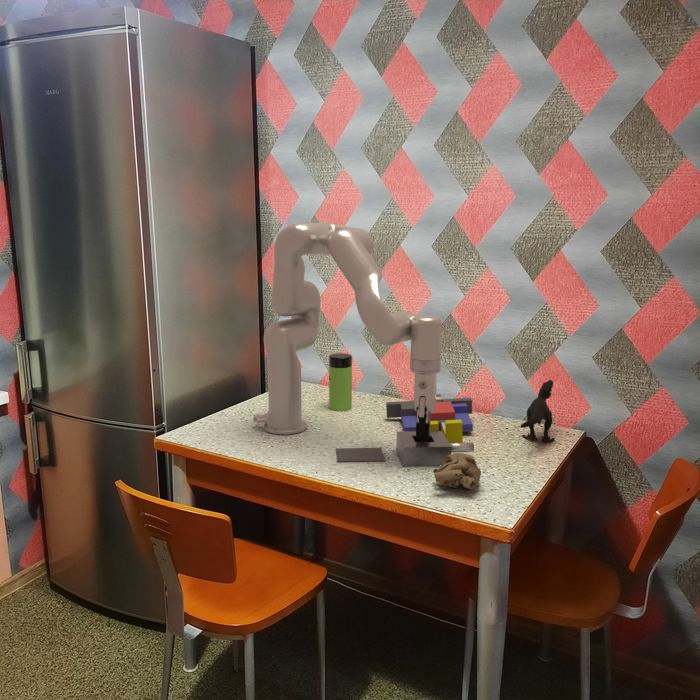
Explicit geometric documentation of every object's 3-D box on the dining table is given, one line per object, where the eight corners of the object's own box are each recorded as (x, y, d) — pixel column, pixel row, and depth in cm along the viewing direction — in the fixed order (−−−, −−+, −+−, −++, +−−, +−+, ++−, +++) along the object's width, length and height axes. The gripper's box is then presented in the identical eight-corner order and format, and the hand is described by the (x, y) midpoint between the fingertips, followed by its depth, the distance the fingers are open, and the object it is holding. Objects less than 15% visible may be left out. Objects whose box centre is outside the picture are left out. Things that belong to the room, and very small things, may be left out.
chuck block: (402, 466, 158) (403, 447, 157) (396, 449, 170) (396, 431, 169) (478, 465, 159) (479, 446, 158) (466, 448, 171) (467, 430, 170)
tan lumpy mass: (449, 437, 154) (424, 464, 141) (493, 449, 149) (471, 478, 136) (447, 464, 156) (422, 493, 144) (490, 477, 151) (468, 508, 139)
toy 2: (562, 430, 186) (566, 380, 183) (540, 461, 162) (544, 404, 159) (531, 425, 190) (534, 376, 188) (505, 455, 166) (508, 399, 163)
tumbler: (336, 412, 202) (336, 359, 198) (324, 406, 208) (324, 354, 205) (355, 409, 206) (356, 356, 202) (343, 403, 212) (344, 352, 209)
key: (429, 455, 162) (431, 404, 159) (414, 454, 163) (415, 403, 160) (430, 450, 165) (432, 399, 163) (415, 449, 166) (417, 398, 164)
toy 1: (390, 426, 171) (384, 388, 200) (391, 455, 174) (385, 413, 202) (486, 421, 171) (467, 384, 200) (486, 450, 173) (467, 409, 202)
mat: (337, 462, 160) (337, 460, 160) (335, 449, 169) (336, 448, 169) (385, 461, 161) (385, 460, 161) (381, 449, 170) (381, 447, 170)
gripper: (438, 373, 151) (435, 447, 154) (442, 358, 167) (439, 426, 170) (406, 371, 152) (404, 444, 156) (413, 357, 168) (411, 424, 172)
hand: (423, 434), depth 163 cm, fingers closed on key, 3 cm apart
